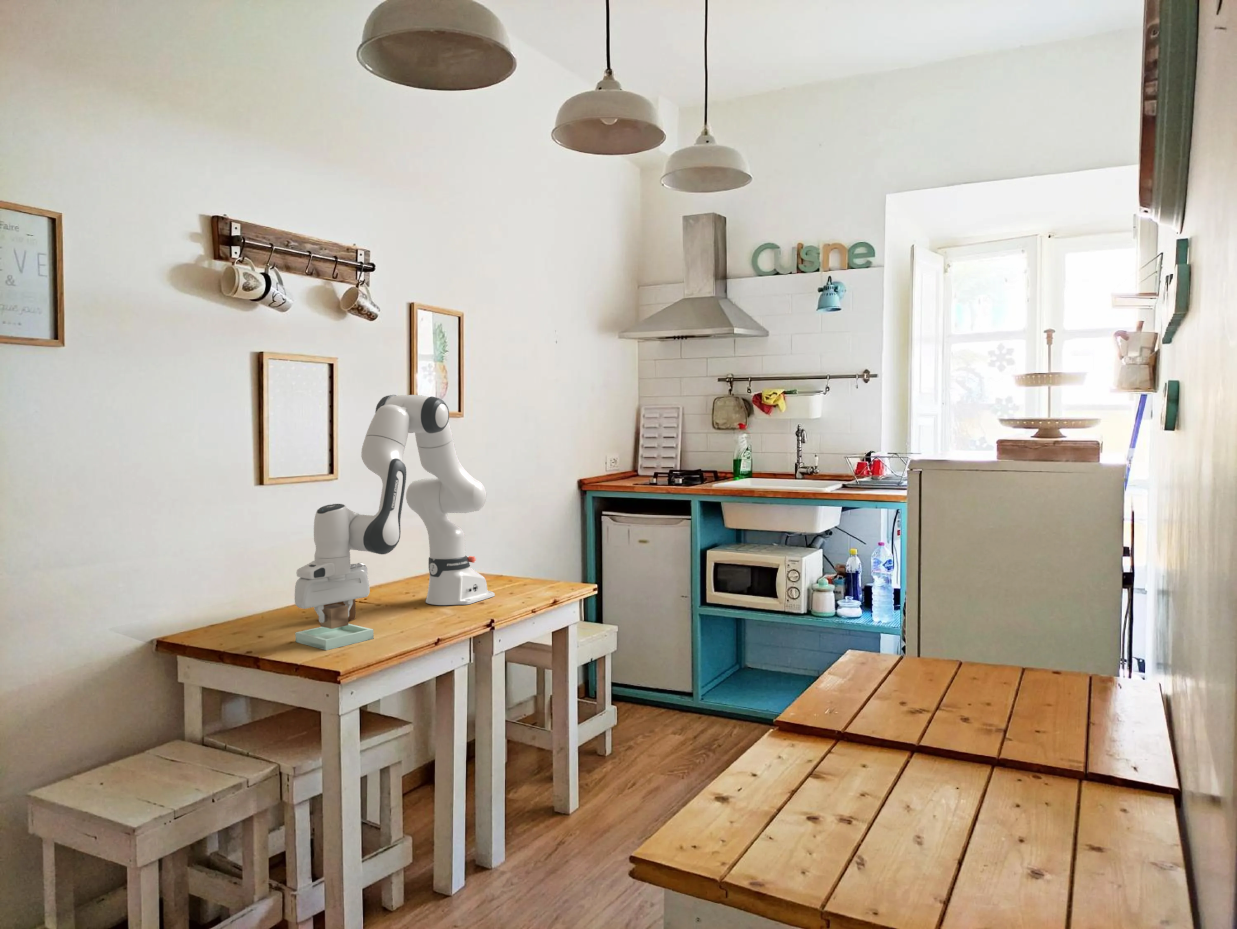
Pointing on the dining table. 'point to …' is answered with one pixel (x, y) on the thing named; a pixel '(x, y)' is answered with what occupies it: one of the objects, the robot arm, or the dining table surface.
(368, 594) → the robot arm
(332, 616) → the block
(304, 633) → the tray
